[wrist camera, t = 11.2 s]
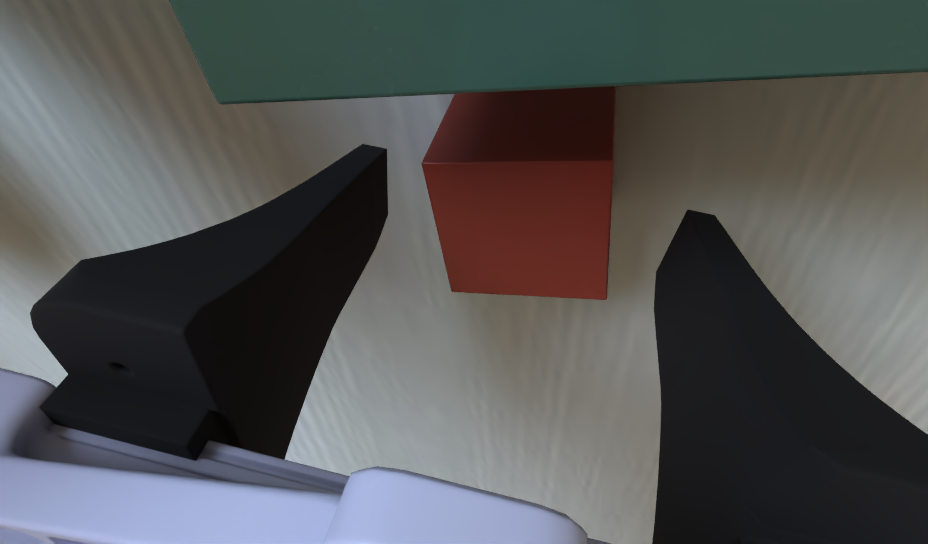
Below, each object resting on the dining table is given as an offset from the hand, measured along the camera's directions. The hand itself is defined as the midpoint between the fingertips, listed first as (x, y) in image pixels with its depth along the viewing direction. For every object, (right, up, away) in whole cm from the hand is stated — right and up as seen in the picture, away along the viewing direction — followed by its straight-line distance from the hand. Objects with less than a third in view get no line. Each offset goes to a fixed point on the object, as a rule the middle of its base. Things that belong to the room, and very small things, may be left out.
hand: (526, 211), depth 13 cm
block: (+1, +2, +2) cm, 3 cm away
